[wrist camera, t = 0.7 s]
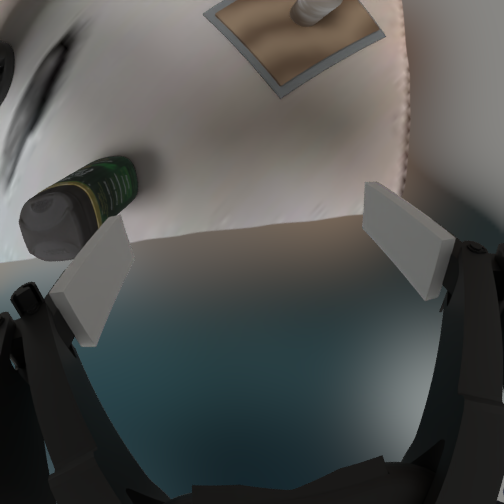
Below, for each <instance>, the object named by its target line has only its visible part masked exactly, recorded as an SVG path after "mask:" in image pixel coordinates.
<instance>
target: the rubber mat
mask: <svg viewBox="0 0 504 504" xmlns="http://www.w3.org/2000/svg"><path fill="white" fill-rule="evenodd" d="M235 1H236V0H223V1H222V2H220V3H219V4H217V5H215V6H214V7H212V8H211V9H209V10H208V11H206V12H205V13H203V15H204V16H205V17H206V18H207V19H208V20H209V21H210V22H211V23H212V24H213V25H214V26H215V27H216V28H217V29H218V30H219V31H220V32H221V33H222V34H223V35H224V36H225V37H226V38H227V39H228V40H229V41H230V42H231V43H232V44H233V45H234V46H235V47H236V48H237V49H238V50H239V52H240V53H241V54H242V55H243V56H244V57H245V58H246V59H247V60H248V61H249V62H250V64H251V65H252V66H253V67H254V68H255V69H256V70H257V72H258V73H259V74H260V75H261V76H262V77H263V79H264V80H265V81H266V82H267V83H268V84H269V86H270V87H271V88H272V89H273V91H274V92H275V93H276V94H277V95H278V97H279V98H280V99H281V98H282V97H284V96H285V95H287V94H288V93H290V92H291V91H293V90H294V89H296V88H297V87H299V86H300V85H302V84H303V83H305V82H306V81H308V80H309V79H311V78H313V77H314V76H316V75H317V74H319V73H321V72H322V71H324V70H325V69H327V68H329V67H330V66H332V65H334V64H336V63H337V62H339V61H341V60H342V59H344V58H346V57H348V56H350V55H351V54H353V53H355V52H357V51H359V50H360V49H362V48H364V47H366V46H368V45H370V44H372V43H374V42H376V41H378V40H380V39H382V38H384V37H386V36H385V34H384V33H383V31H382V30H381V29H380V30H378V31H376V32H373V33H371V34H369V35H367V36H365V37H363V38H361V39H359V40H357V41H356V42H354V43H352V44H350V45H348V46H346V47H344V48H342V49H341V50H339V51H337V52H335V53H333V54H332V55H330V56H328V57H326V58H325V59H323V60H321V61H320V62H318V63H316V64H315V65H313V66H311V67H310V68H308V69H307V70H305V71H303V72H302V73H300V74H299V75H297V76H295V77H294V78H292V79H291V80H289V81H288V82H286V83H285V84H283V85H282V86H279V85H278V84H277V82H276V81H275V80H274V79H273V77H272V76H271V75H270V74H269V73H268V72H267V70H266V69H265V68H264V67H263V66H262V65H261V63H260V62H259V61H258V60H257V59H256V58H255V57H254V56H253V54H252V53H251V52H250V51H249V50H248V49H247V48H246V47H245V46H244V45H243V44H242V43H241V41H240V40H239V39H238V38H237V37H236V36H235V35H234V34H233V33H232V32H231V31H230V30H229V29H228V28H227V27H226V26H225V25H224V24H223V23H222V22H221V21H220V20H219V19H218V18H217V17H216V16H215V13H217V12H218V11H220V10H221V9H223V8H225V7H226V6H228V5H230V4H231V3H233V2H235ZM358 1H359V0H358ZM359 2H360V1H359ZM360 3H361V2H360ZM361 4H362V3H361ZM362 6H363V5H362ZM363 7H364V6H363ZM364 8H365V7H364ZM365 9H366V8H365ZM366 11H367V10H366ZM367 12H368V11H367ZM368 13H369V12H368ZM369 15H370V14H369ZM370 16H371V15H370ZM371 17H372V16H371ZM372 19H373V17H372ZM373 20H374V19H373ZM374 21H375V20H374ZM375 23H376V22H375ZM376 24H377V23H376ZM377 25H378V24H377ZM378 27H379V26H378ZM379 28H380V27H379Z"/></svg>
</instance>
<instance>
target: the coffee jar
mask: <svg viewBox="0 0 504 504" xmlns="http://www.w3.org/2000/svg"><path fill="white" fill-rule="evenodd" d="M137 192H138V182H137V176H136V171H135V168H134V166H133V164H132V162H131V161H130V160H129V159H127V158H125V157H121V156H116V157H108V158H103V159H99V160H96V161H94V162H92V163H90V164H88V165H86V166H84V167H82V168H81V169H79V170H77V171H76V172H74V173H72V174H70V175H69V176H67V177H65V178H64V179H62V180H60V181H58V182H57V183H55V184H53V185H51V186H49V187H48V188H46V189H44V190H43V191H41V192H39V193H38V194H37V195H35V196H34V197H32V198H31V199H29V200H28V201H27V202H26V203H25V204H24V206H23V208H22V210H21V213H20V219H19V225H20V229H21V232H22V236H23V239H24V241H25V244H26V246H27V248H28V251H29V253H30V254H33V255H34V256H36V257H37V258H39V259H41V260H44V261H64V260H71V259H74V258H75V257H76V256H77V254H78V253H79V252H80V251H81V249H82V248H83V247H84V246H85V244H86V243H87V242H88V241H89V240H90V238H91V237H92V236H93V235H94V234H95V232H96V231H97V230H98V229H99V228H100V227H101V225H102V224H103V223H104V222H105V221H106V220H107V219H108V217H112V216H116V215H117V214H118V213H120V212H121V211H122V210H123V209H124V208H125V207H126V206H127V205H128V204H130V203H131V202H132V201H133V199H134V198H135V197H136V195H137Z"/></svg>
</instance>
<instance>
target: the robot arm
mask: <svg viewBox="0 0 504 504" xmlns="http://www.w3.org/2000/svg"><path fill="white" fill-rule="evenodd" d="M13 69H14V54H13V50H12V48H11V46H10V45H9V44H8V43H7V42H2V41H0V104H1V103H2V101H3V99H4V98H5V96H6V93H7V91H8V89H9V86H10V83H11V79H12V75H13ZM362 228H363V229H364V230H365V231H366V233H367V234H368V235H369V236H370V237H371V238H372V239H373V240H374V241H375V242H376V243H377V245H378V246H379V247H380V248H381V249H382V250H383V251H384V252H385V254H386V255H387V256H388V257H389V258H390V259H391V260H392V261H393V263H394V264H395V265H396V266H397V267H398V269H399V270H400V271H401V272H402V273H403V275H404V276H405V277H406V278H407V279H408V281H409V282H410V283H411V284H412V285H413V287H414V288H415V289H416V290H417V292H418V293H419V294H420V295H421V297H422V298H423V299H424V301H427V300H430V299H433V298H437V297H438V296H439V293H440V290H441V288H442V285H443V286H444V287H445V288H446V289H447V293H446V295H445V298H444V301H443V304H442V306H441V309H440V312H442V310H443V309H444V310H443V319H442V327H441V335H440V341H439V347H438V353H437V358H436V364H435V368H434V373H433V378H432V382H431V386H430V390H429V394H428V398H427V402H426V405H425V409H424V412H423V416H422V419H421V422H420V425H419V428H418V431H417V434H416V437H415V439H414V441H413V443H412V444H411V446H410V447H409V449H408V451H407V452H406V454H405V456H404V457H403V459H402V461H401V462H384V459H383V456H379V457H376V458H373V459H370V460H367V461H364V462H361V463H358V464H354V465H351V466H348V467H344V468H340V469H338V470H336V471H334V472H332V473H330V474H328V475H326V476H324V477H322V478H319V479H317V480H315V481H313V482H311V483H308V484H306V485H304V486H301V487H299V488H296V489H293V490H278V489H267V488H258V487H250V486H243V485H222V486H198V485H197V486H196V485H193V486H192V493H188V494H185V495H181V496H178V497H176V498H173V499H170V498H169V497H168V496H167V495H166V494H165V493H164V492H163V491H162V490H161V489H160V488H159V487H158V486H157V485H155V484H154V483H153V482H152V481H151V480H150V479H149V478H148V477H147V475H146V474H145V473H144V471H143V470H142V469H141V467H140V466H139V464H138V463H137V462H136V460H135V459H134V457H133V456H132V454H131V453H130V451H129V450H128V449H127V447H126V445H125V444H124V442H123V441H122V439H121V438H120V436H119V434H118V433H117V431H116V430H115V428H114V426H113V424H112V423H111V421H110V419H109V417H108V416H107V414H106V412H105V411H104V408H103V407H102V405H101V403H100V401H99V399H98V398H97V395H96V393H95V391H94V389H93V387H92V385H91V383H90V381H89V379H88V377H87V374H86V372H85V370H84V368H83V365H82V363H81V361H80V358H79V356H78V354H77V351H76V349H75V348H74V346H73V345H72V341H73V339H74V337H75V338H76V339H77V340H78V342H79V344H80V345H81V346H82V347H83V346H84V347H96V345H97V343H98V340H99V338H100V335H101V332H102V330H103V328H104V325H105V323H106V320H107V318H108V315H109V313H110V311H111V309H112V306H113V304H114V302H115V300H116V297H117V295H118V293H119V291H120V289H121V286H122V284H123V282H124V280H125V278H126V276H127V274H128V272H129V270H130V268H131V265H132V264H133V262H134V260H135V257H134V255H133V252H132V249H131V246H130V243H129V240H128V237H127V234H126V231H125V227H124V224H123V221H122V218H121V215H117V216H112V217H108V219H107V220H106V221H105V222H104V223H103V224H102V225H101V227H100V228H99V229H98V230H97V231H96V232H95V234H94V235H93V236H92V237H91V238H90V240H89V241H88V242H87V243H86V244H85V246H84V247H83V248H82V249H81V251H80V252H79V253H78V254H77V256H76V257H75V258H74V259H73V261H72V262H71V263H70V265H69V266H68V267H67V269H66V270H65V271H64V272H63V273H62V274H61V276H60V277H59V279H58V280H57V281H56V283H55V285H53V287H52V288H51V290H50V291H49V293H48V294H47V295H46V297H45V299H44V298H43V297H42V295H41V293H40V291H39V289H38V288H37V286H36V284H35V282H28V283H26V284H24V285H22V286H21V287H19V288H18V289H17V290H16V291H15V292H14V293H13V295H12V296H11V299H10V300H11V302H12V304H13V305H14V307H15V309H16V310H17V312H18V313H19V315H20V317H21V318H20V319H17V320H13V319H12V317H11V316H10V314H9V313H8V312H3V313H1V314H0V504H56V502H57V504H504V503H503V502H500V501H497V497H498V494H499V491H500V487H501V483H502V480H503V476H504V404H503V402H502V390H503V389H504V243H501V244H499V245H498V249H497V252H496V254H491V253H488V251H487V249H486V248H484V246H482V245H481V244H479V243H476V242H474V241H464V242H461V241H460V240H459V239H458V238H456V237H455V236H454V235H453V234H451V233H450V232H449V231H447V230H446V229H445V228H444V227H441V225H440V224H439V223H437V222H436V221H435V220H433V219H431V218H429V217H428V216H427V215H425V214H424V213H423V212H421V211H420V210H418V209H417V208H416V207H414V206H413V205H411V204H410V203H408V202H407V201H406V200H404V199H403V198H401V197H400V196H398V195H397V194H395V193H394V192H392V191H391V190H389V189H388V188H386V187H385V186H383V185H381V184H380V183H378V182H365V194H364V212H363V226H362ZM10 359H11V360H12V362H13V363H14V364H15V369H14V367H13V366H12V364H11V361H10ZM44 441H45V443H46V446H47V449H48V452H49V454H50V457H51V460H52V462H53V465H54V468H55V473H53V474H51V475H49V469H48V464H47V458H46V451H45V444H44ZM503 494H504V490H503Z"/></svg>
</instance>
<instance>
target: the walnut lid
mask: <svg viewBox="0 0 504 504" xmlns="http://www.w3.org/2000/svg"><path fill="white" fill-rule="evenodd" d="M215 16H216V17H217V18H218V19H219V20H220V21H221V22H222V23H223V24H224V25H225V26H226V27H227V28H228V29H229V30H230V31H231V32H232V33H233V34H234V35H235V36H236V37H237V38H238V39H239V40H240V41H241V43H242V44H243V45H244V46H245V47H246V48H247V49H248V50H249V51H250V52H251V53H252V54H253V56H254V57H255V58H256V59H257V60H258V61H259V62H260V63H261V65H262V66H263V67H264V68H265V69H266V70H267V72H268V73H269V74H270V75H271V76H272V77H273V79H274V80H275V81H276V82H277V84H278V85H279V86H282V85H283V84H285V83H286V82H288V81H289V80H291V79H292V78H294V77H295V76H297V75H299V74H300V73H302V72H303V71H305V70H307V69H308V68H310V67H311V66H313V65H315V64H316V63H318V62H320V61H321V60H323V59H325V58H326V57H328V56H330V55H332V54H333V53H335V52H337V51H339V50H341V49H342V48H344V47H346V46H348V45H350V44H352V43H354V42H356V41H357V40H359V39H361V38H363V37H365V36H367V35H369V34H371V33H373V32H376V31H378V30H380V28H379V27H378V25H377V24H376V23H375V21H374V20H373V19H372V17H371V16H370V15H369V13H368V12H367V11H366V9H365V8H364V7H363V6H362V4H361V3H360V2H359V1H358V0H236V1H235V2H233V3H231V4H230V5H228V6H226V7H225V8H223V9H221V10H220V11H218V12H217V13H215Z"/></svg>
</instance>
